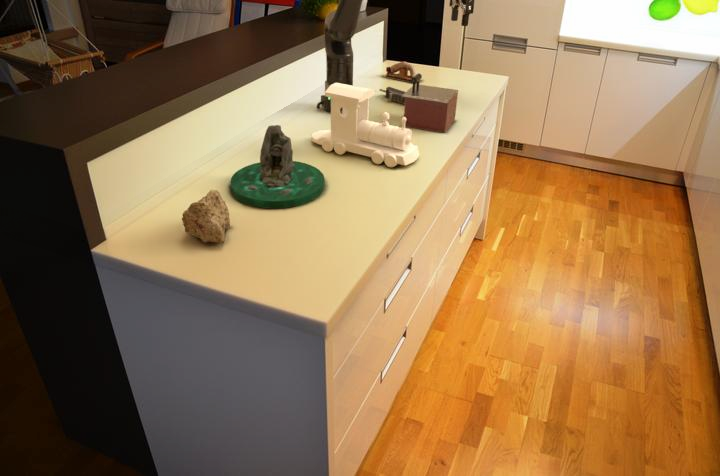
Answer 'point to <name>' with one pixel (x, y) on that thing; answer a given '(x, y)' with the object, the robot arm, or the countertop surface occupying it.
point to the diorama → (277, 176)
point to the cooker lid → (429, 92)
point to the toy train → (364, 129)
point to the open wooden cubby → (430, 114)
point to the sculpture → (401, 71)
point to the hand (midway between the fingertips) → (459, 23)
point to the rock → (207, 218)
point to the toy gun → (394, 94)
